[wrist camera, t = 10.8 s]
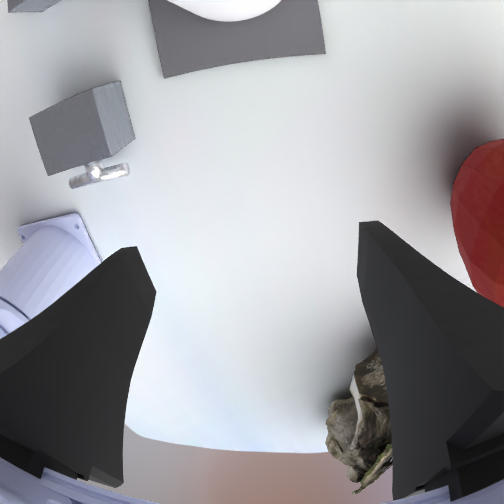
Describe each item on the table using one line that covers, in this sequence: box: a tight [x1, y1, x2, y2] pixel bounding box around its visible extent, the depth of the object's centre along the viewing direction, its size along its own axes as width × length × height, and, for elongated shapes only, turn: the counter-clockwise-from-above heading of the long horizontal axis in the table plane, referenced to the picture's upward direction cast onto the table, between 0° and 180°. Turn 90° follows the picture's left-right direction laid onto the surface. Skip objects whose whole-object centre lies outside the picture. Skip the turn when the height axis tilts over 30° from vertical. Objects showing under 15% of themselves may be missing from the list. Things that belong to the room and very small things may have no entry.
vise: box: [8, 0, 135, 189], centre depth 13 cm, size 17×5×4 cm, turn 9°
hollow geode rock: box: [325, 349, 393, 495], centre depth 29 cm, size 28×13×15 cm
